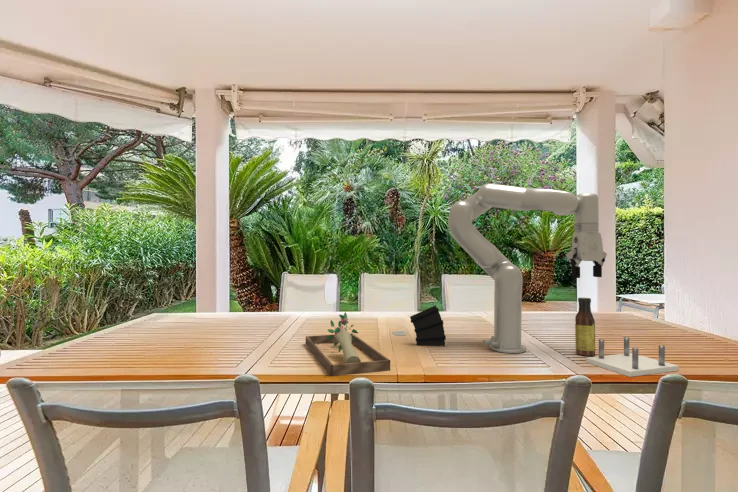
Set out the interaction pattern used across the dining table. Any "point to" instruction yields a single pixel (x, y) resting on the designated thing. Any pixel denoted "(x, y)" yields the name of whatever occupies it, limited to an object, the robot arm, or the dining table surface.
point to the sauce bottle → (585, 329)
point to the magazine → (429, 327)
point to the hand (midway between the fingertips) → (586, 277)
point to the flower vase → (344, 340)
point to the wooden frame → (348, 368)
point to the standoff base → (627, 365)
